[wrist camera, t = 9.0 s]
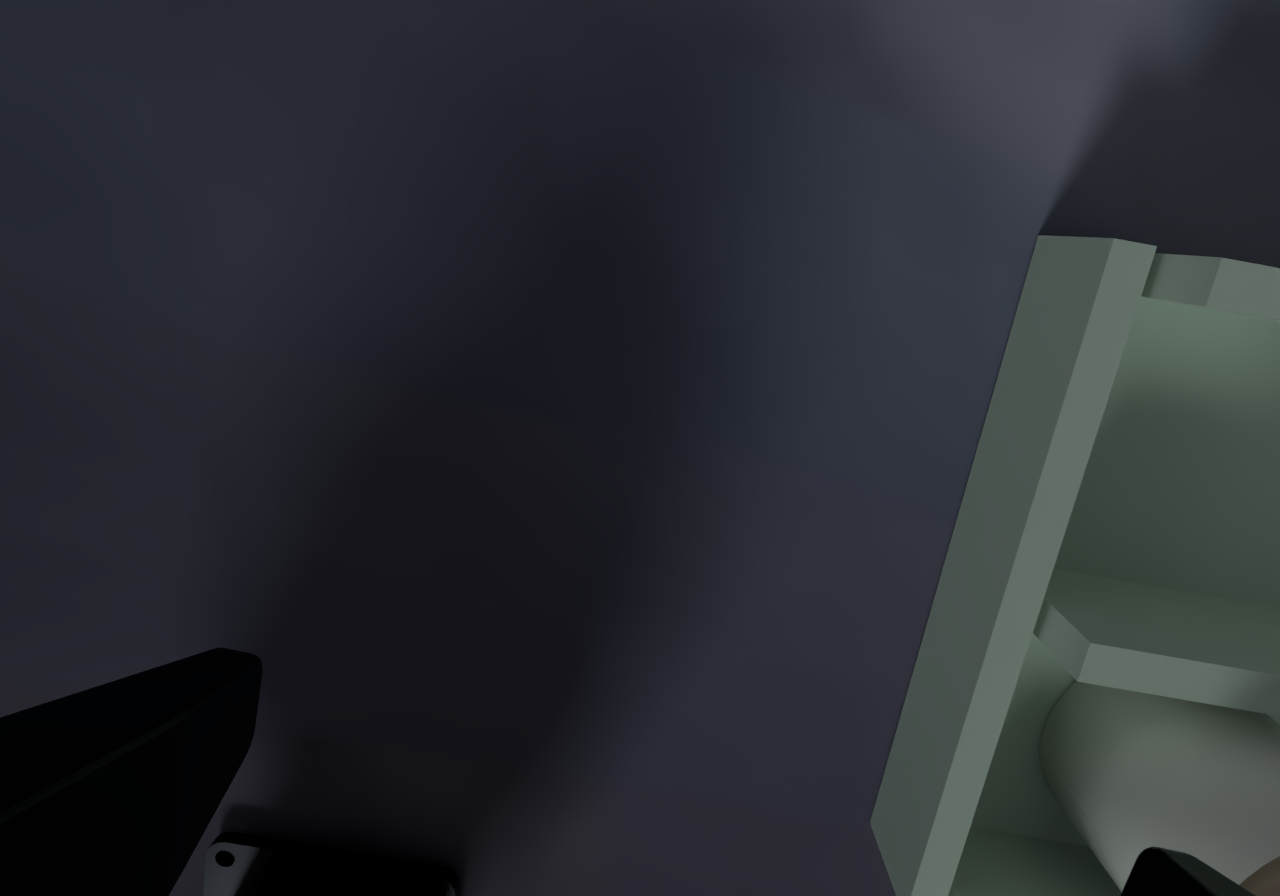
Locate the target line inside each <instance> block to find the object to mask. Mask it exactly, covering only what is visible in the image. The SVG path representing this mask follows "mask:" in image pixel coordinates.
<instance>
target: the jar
mask: <svg viewBox="0 0 1280 896" xmlns="http://www.w3.org/2000/svg"><path fill="white" fill-rule="evenodd" d="M1039 757H1040V767H1041V771H1042V775H1043V778H1044V780H1045V783H1046V785H1047V787H1048V789H1049V791H1050V792H1051V794H1052V795H1053V797H1054V798H1055V800H1056V801H1057V802H1058V804H1059V805H1060V807H1061V808H1062V809H1063V811H1064V812H1065V814H1066V815H1067V816H1068V818H1069V819H1070V821H1071V822H1072V823H1073V825H1074V826H1075V828H1076V829H1077V830H1078V832H1079V833H1080V835H1081V836H1082V837H1083V839H1084V840H1085V842H1086V843H1087V844H1088V846H1089V847H1090V849H1091V850H1092V851H1093V853H1094V854H1095V856H1096V857H1097V858H1098V860H1099V861H1100V863H1101V864H1102V865H1103V867H1104V868H1105V870H1106V871H1107V872H1108V874H1109V875H1110V877H1111V878H1112V879H1113V881H1114V882H1115V884H1116V885H1117V886H1118V888H1119V889H1120V891H1121V892H1122V890H1123V888H1124V886H1125V884H1126V881H1127V879H1128V877H1129V875H1130V872H1131V870H1132V868H1133V866H1134V863H1135V861H1136V859H1137V857H1138V855H1139V854H1140V853H1141V852H1142V851H1143V850H1144V849H1146V848H1149V847H1160V848H1165V849H1170V850H1175V851H1179V852H1184V853H1187V854H1190V855H1192V856H1194V857H1196V858H1198V859H1199V860H1201V861H1202V862H1204V863H1205V864H1207V865H1209V866H1210V867H1212V868H1213V869H1215V870H1216V871H1218V872H1220V873H1221V874H1223V875H1224V876H1226V877H1227V878H1229V879H1230V880H1232V881H1234V882H1235V883H1237V884H1238V885H1240V886H1241V887H1243V888H1245V889H1246V890H1248V891H1249V892H1251V893H1252V894H1254V895H1255V896H1280V724H1279V723H1277V722H1276V721H1275V720H1274V719H1272V718H1271V717H1270V716H1269V715H1267V714H1264V713H1258V712H1252V711H1247V710H1241V709H1235V708H1229V707H1223V706H1217V705H1211V704H1206V703H1200V702H1194V701H1188V700H1182V699H1176V698H1170V697H1165V696H1159V695H1153V694H1147V693H1141V692H1135V691H1130V690H1124V689H1118V688H1112V687H1106V686H1100V685H1094V684H1089V683H1083V682H1076V683H1075V684H1073V685H1072V686H1071V687H1070V688H1069V689H1068V690H1067V691H1066V692H1065V693H1064V694H1063V695H1062V697H1061V698H1060V699H1059V701H1058V702H1057V703H1056V705H1055V706H1054V708H1053V709H1052V711H1051V713H1050V715H1049V716H1048V718H1047V721H1046V723H1045V726H1044V728H1043V732H1042V736H1041V740H1040V750H1039Z"/></svg>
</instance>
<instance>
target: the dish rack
mask: <svg viewBox="0 0 1280 896" xmlns="http://www.w3.org/2000/svg"><path fill="white" fill-rule="evenodd" d="M1156 248H1157V246H1153V245H1148V244H1142V243H1137V242H1132V241H1126V240H1121V239H1116V238H1095V237H1070V236H1044V235H1038V238H1037V241H1036V245H1035V248H1034V252H1033V255H1032V259H1031V262H1030V266H1029V269H1028V273H1027V276H1026V280H1025V283H1024V287H1023V290H1022V294H1021V297H1020V301H1019V304H1018V308H1017V311H1016V315H1015V318H1014V322H1013V325H1012V328H1011V332H1010V335H1009V339H1008V342H1007V346H1006V349H1005V353H1004V356H1003V360H1002V363H1001V367H1000V370H999V374H998V377H997V381H996V384H995V388H994V391H993V395H992V398H991V402H990V405H989V409H988V412H987V416H986V419H985V423H984V426H983V430H982V433H981V437H980V440H979V444H978V447H977V451H976V454H975V458H974V461H973V465H972V468H971V472H970V475H969V478H968V482H967V485H966V489H965V492H964V496H963V499H962V503H961V506H960V510H959V513H958V517H957V520H956V524H955V527H954V531H953V534H952V538H951V541H950V545H949V548H948V552H947V555H946V559H945V562H944V566H943V569H942V573H941V576H940V580H939V583H938V587H937V590H936V594H935V597H934V601H933V604H932V608H931V611H930V615H929V618H928V621H927V625H926V628H925V632H924V635H923V639H922V642H921V646H920V649H919V653H918V656H917V660H916V663H915V667H914V670H913V674H912V677H911V681H910V684H909V688H908V691H907V695H906V698H905V702H904V705H903V709H902V712H901V716H900V719H899V723H898V726H897V730H896V733H895V737H894V740H893V744H892V747H891V751H890V754H889V758H888V761H887V765H886V768H885V771H884V775H883V778H882V782H881V785H880V789H879V792H878V796H877V799H876V803H875V806H874V810H873V813H872V817H871V820H870V824H871V827H872V829H873V832H874V835H875V838H876V841H877V843H878V846H879V849H880V852H881V855H882V857H883V860H884V863H885V866H886V869H887V871H888V874H889V877H890V880H891V883H892V885H893V888H894V891H895V894H896V896H1120V895H1121V893H1122V892H1121V891H1120V889H1119V888H1118V886H1117V885H1116V884H1115V882H1114V881H1113V879H1112V878H1111V877H1110V875H1109V874H1108V872H1107V871H1106V870H1105V868H1104V867H1103V865H1102V864H1101V863H1100V861H1099V860H1098V858H1097V857H1096V856H1095V854H1094V853H1093V851H1092V850H1091V849H1090V847H1089V846H1088V844H1087V843H1086V842H1085V840H1084V839H1083V837H1082V836H1081V835H1080V833H1079V832H1078V830H1077V829H1076V828H1075V826H1074V825H1073V823H1072V822H1071V821H1070V819H1069V818H1068V816H1067V815H1066V814H1065V812H1064V811H1063V809H1062V808H1061V807H1060V805H1059V804H1058V802H1057V801H1056V800H1055V798H1054V797H1053V795H1052V794H1051V792H1050V791H1049V789H1048V787H1047V785H1046V783H1045V780H1044V778H1043V775H1042V771H1041V767H1040V757H1039V750H1040V740H1041V736H1042V732H1043V728H1044V726H1045V723H1046V721H1047V718H1048V716H1049V715H1050V713H1051V711H1052V709H1053V708H1054V706H1055V705H1056V703H1057V702H1058V701H1059V699H1060V698H1061V697H1062V695H1063V694H1064V693H1065V692H1066V691H1067V690H1068V689H1069V688H1070V687H1071V686H1072V685H1073V684H1075V683H1076V682H1083V683H1089V684H1094V685H1100V686H1106V687H1112V688H1118V689H1124V690H1130V691H1135V692H1141V693H1147V694H1153V695H1159V696H1165V697H1170V698H1176V699H1182V700H1188V701H1194V702H1200V703H1206V704H1211V705H1217V706H1223V707H1229V708H1235V709H1241V710H1247V711H1252V712H1258V713H1264V714H1267V715H1269V716H1270V717H1271V718H1272V719H1274V720H1275V721H1276V722H1277V723H1279V724H1280V268H1276V267H1270V266H1265V265H1260V264H1254V263H1249V262H1244V261H1238V260H1233V259H1227V258H1222V257H1207V256H1191V255H1176V254H1161V253H1155V252H1156Z"/></svg>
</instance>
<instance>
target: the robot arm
mask: <svg viewBox="0 0 1280 896" xmlns="http://www.w3.org/2000/svg"><path fill="white" fill-rule="evenodd" d="M262 670H263V669H262V662H261V660H260V658H259V657H258V656H256V655H254V654H250V653H245V652H241V651H236V650H231V649H227V648H215V649H212V650H209V651H206V652H203V653H199V654H196V655H193V656H190V657H187V658H184V659H181V660H178V661H175V662H171V663H168V664H165V665H162V666H159V667H156V668H153V669H150V670H147V671H144V672H140V673H137V674H134V675H131V676H128V677H125V678H122V679H119V680H116V681H112V682H109V683H106V684H103V685H100V686H97V687H94V688H91V689H88V690H85V691H81V692H78V693H75V694H72V695H69V696H66V697H63V698H60V699H57V700H53V701H50V702H47V703H44V704H41V705H38V706H35V707H32V708H29V709H26V710H22V711H19V712H16V713H13V714H10V715H7V716H4V717H1V718H0V896H169V894H170V892H171V891H172V889H173V887H174V885H175V884H176V882H177V880H178V879H179V877H180V875H181V873H182V872H183V870H184V868H185V866H186V864H187V862H188V861H189V859H190V857H191V855H192V853H193V851H194V850H195V848H196V846H197V844H198V842H199V841H200V839H201V837H202V835H203V833H204V831H205V830H206V828H207V826H208V824H209V822H210V821H211V819H212V817H213V815H214V813H215V811H216V810H217V808H218V806H219V804H220V802H221V801H222V799H223V797H224V795H225V793H226V791H227V790H228V788H229V786H230V784H231V782H232V781H233V779H234V777H235V775H236V773H237V771H238V770H239V768H240V766H241V764H242V762H243V760H244V759H245V757H246V755H247V753H248V750H249V748H250V745H251V742H252V739H253V735H254V731H255V724H256V717H257V709H258V702H259V694H260V687H261V679H262ZM224 850H226V851H228V852H231V853H232V854H233V856H230V855H227V854H226V853H225V852H224ZM436 884H438V885H440V886H442V887H443V888H444V889H436V888H434V887H433V886H432V885H436ZM458 886H459V882H458V877H457V875H456V874H455V872H454V871H452V870H451V869H450V868H448V867H445V866H441V865H435V864H429V863H423V862H417V861H410V860H404V859H398V858H392V857H386V856H379V855H373V854H367V853H361V852H355V851H348V850H342V849H336V848H330V847H323V846H317V845H311V844H305V843H299V842H292V841H286V840H280V839H274V838H268V837H261V836H255V835H249V834H243V833H237V832H225V833H222V834H219V836H218V837H217V838H216V839H215V840H214V841H213V843H212V844H211V845H210V847H209V848H208V850H207V853H206V857H205V874H204V892H203V896H457V892H458ZM1120 896H1255V895H1254V894H1252V893H1251V892H1249V891H1248V890H1246V889H1245V888H1243V887H1241V886H1240V885H1238V884H1237V883H1235V882H1234V881H1232V880H1230V879H1229V878H1227V877H1226V876H1224V875H1223V874H1221V873H1220V872H1218V871H1216V870H1215V869H1213V868H1212V867H1210V866H1209V865H1207V864H1205V863H1204V862H1202V861H1201V860H1199V859H1198V858H1196V857H1194V856H1192V855H1190V854H1187V853H1184V852H1179V851H1175V850H1170V849H1165V848H1160V847H1149V848H1146V849H1144V850H1143V851H1142V852H1141V853H1140V854H1139V855H1138V857H1137V859H1136V861H1135V863H1134V866H1133V868H1132V870H1131V872H1130V875H1129V877H1128V879H1127V881H1126V884H1125V886H1124V888H1123V890H1122V893H1121V895H1120Z"/></svg>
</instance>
